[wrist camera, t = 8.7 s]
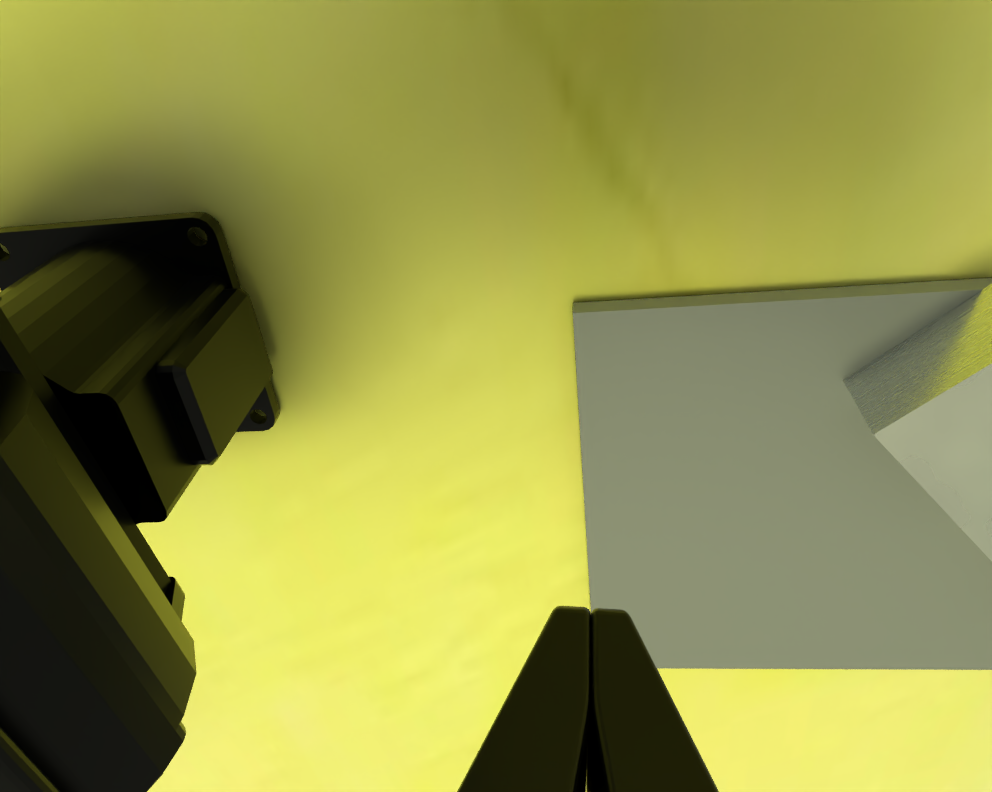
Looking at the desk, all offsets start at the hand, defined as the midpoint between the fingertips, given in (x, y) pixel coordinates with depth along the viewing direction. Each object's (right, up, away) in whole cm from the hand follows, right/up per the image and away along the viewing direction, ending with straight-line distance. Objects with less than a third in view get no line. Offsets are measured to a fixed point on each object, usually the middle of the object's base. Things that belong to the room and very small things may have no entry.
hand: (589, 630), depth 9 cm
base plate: (+11, 0, +13) cm, 17 cm away
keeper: (+12, +2, +11) cm, 16 cm away
